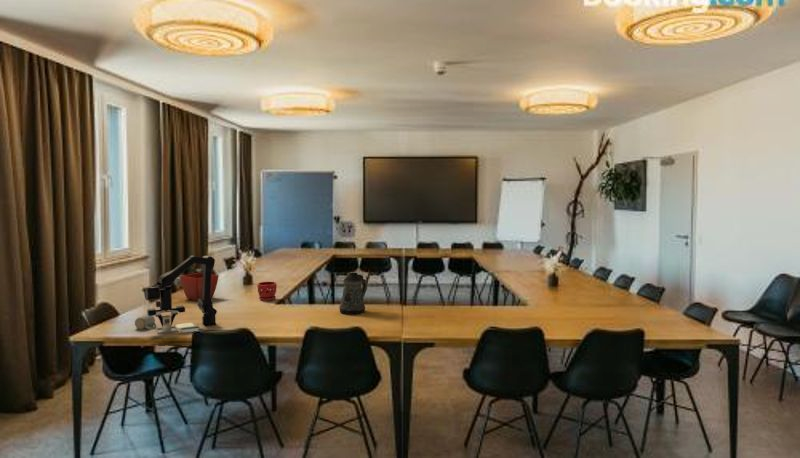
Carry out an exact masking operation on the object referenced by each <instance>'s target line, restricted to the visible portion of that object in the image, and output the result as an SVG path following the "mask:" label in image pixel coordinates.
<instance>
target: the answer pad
mask: <svg viewBox="0 0 800 458" xmlns="http://www.w3.org/2000/svg"><path fill="white" fill-rule="evenodd" d="M175 326H176V328H177V329H180V328H187V327H195V325H194V323H193V322H185V323H179V324H175Z"/></svg>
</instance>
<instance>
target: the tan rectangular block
mask: <svg viewBox="0 0 800 458" xmlns="http://www.w3.org/2000/svg"><path fill="white" fill-rule="evenodd" d="M162 321H163V327H162V326H161V328H162V330H163V332H165V331H171V327H172V326H171V314H167V315H162Z"/></svg>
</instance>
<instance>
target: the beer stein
mask: <svg viewBox="0 0 800 458" xmlns="http://www.w3.org/2000/svg"><path fill="white" fill-rule="evenodd" d="M342 281H343V289H342V295H341V300H340V304H339V307H338V308H339V312H340V315H341V314H342V315H345V316H358V315H357V314H359V315H362V313H363V314H364V313H365V312H366V305H365V301H364V297H365V295H366V292H367V290H368V283H367V280H366V278H364V276H363V275H361V274H358V273H357V272H350V273H349V275H347V276H346V277H345V278H344V279H343V280H342Z"/></svg>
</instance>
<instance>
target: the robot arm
mask: <svg viewBox="0 0 800 458" xmlns="http://www.w3.org/2000/svg"><path fill="white" fill-rule="evenodd" d="M215 263H216V260H215V258H214V257H213V256H209V255H203V256H195V255H189V257H188V258H186V259H185V260H183V261H182V262H181V263H179V265H177V266H176V267H174V268H173V269H172V270H170V271H167V272H165V273H163V274H161V275H160V276H159V277H158V281H157V282H156V283H155V285H154V286H152V287H150V286H149V287H145V290H144V293H143V294H144V299H145V301H153V300H156V301H155V308H154V307H153V308H147V310H146V314H147V315H148V316H153V317H154V316H155V317H156V318H158V320H159V323H160V325H161V328H162V327H163V321H162V316H163V315H162V313H170V316H171V327H172V326H173V323H174V320H175V318H176V316H177V315H178V314H179V313H185V312H186V307H185V306H184V305H176V307H173V303H172V302H173V301H172V299H173V297H172V290H176V287H175V286H174V285H173V283H174V282H175V281H176V280H177V278H178V277H180V276H181V274H183V273H184V272H185V271H187V270H188V269H189V268H190V267H192V266H193V265H195V264H198V265H199V264H200V267H201V270H202V273H203V283H202V297H201V299H198V301H197V307H198V310H200V311H201V313H202V317H201V319H202V320H201V321H202V322H201V323H202V325H204V326H208V327H209V326H215V325H217V322H216V315H217V313H218V310H217V309H216V308H214V306H213V300H212V298H211V297H210V293H211V274H212V272H213V270H214V267H215ZM159 298H160V299H159ZM158 299H159V300H158ZM156 308H159V309H156Z"/></svg>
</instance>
